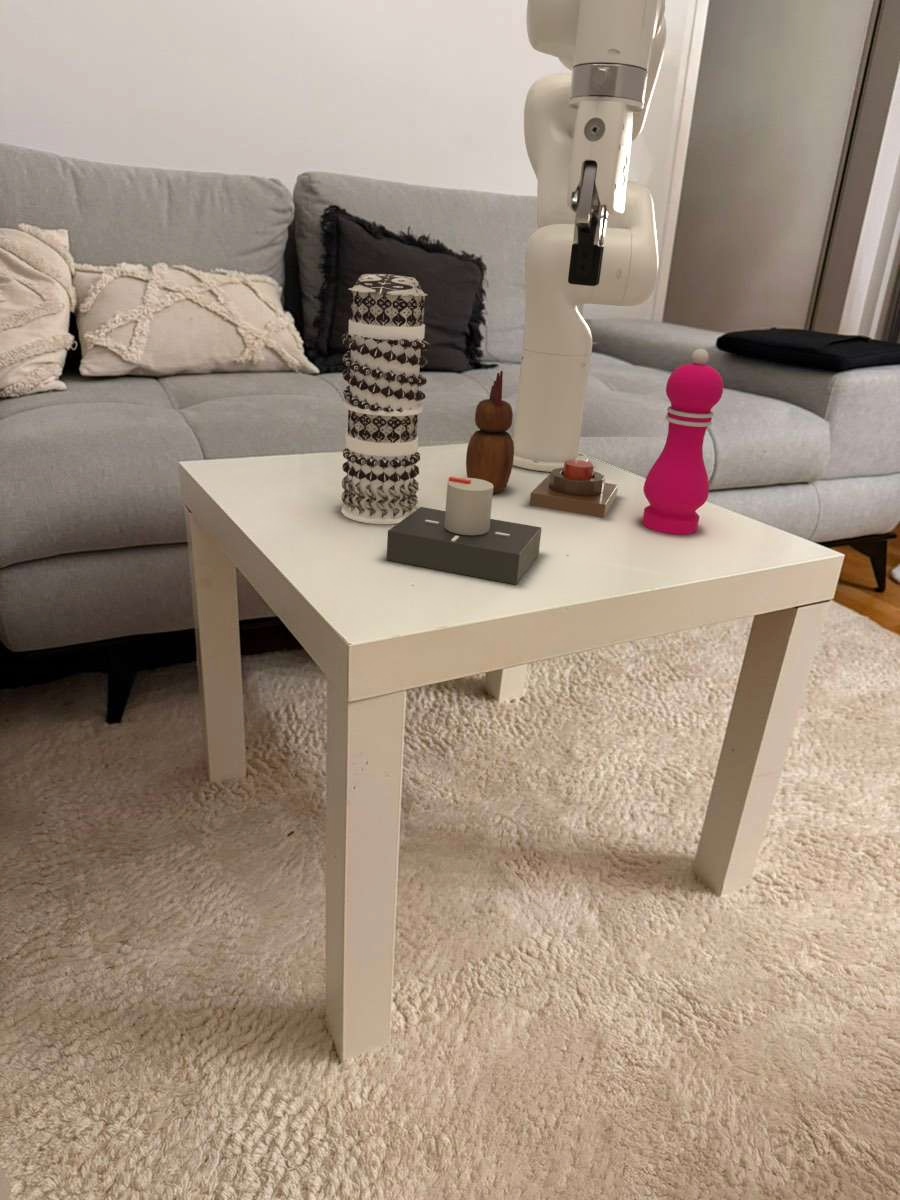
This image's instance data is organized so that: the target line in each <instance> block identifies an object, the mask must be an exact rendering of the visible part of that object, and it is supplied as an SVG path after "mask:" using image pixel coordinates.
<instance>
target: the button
mask: <svg viewBox="0 0 900 1200" xmlns="http://www.w3.org/2000/svg"><path fill="white" fill-rule="evenodd" d="M593 471H595V464H594V463H593V462H591V461H588V462H587V461H582V460H567V461H565V462H564V470H563V475H564V476H567V477H570V478H576V479H591V478H592V477H593Z"/></svg>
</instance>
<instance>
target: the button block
mask: <svg viewBox="0 0 900 1200" xmlns="http://www.w3.org/2000/svg"><path fill="white" fill-rule="evenodd" d="M563 470H564V467H563V468H557V469H553V470H552V471H551V472H549V473H550V474H548V475H547V476H546V477H545V478H544V479H543V480H542V481H541V482H540V483H539V484H538V485H537V486H536V487H535V488H534V489H533V490H532V491H531V492H530V498H529V499H530V500H529V506H530V507H534V508H542V509H548V510H553V511H559V512H566V513H572V514H579V515H584V516H589V517H596V518H602V519H604V518H605V516H607V513H608V512H609V510H610V509H611V506H612V505H613V504H614V502H615V500H616V498H617V496H618V488H619V485H618V484H614V483H608V482H606V476H605V475H604V474H602V473H601V472H598V471H595V470H593V477H592V478H591V479H576V478H570V477H567V476H564V475H563Z"/></svg>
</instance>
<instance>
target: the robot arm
mask: <svg viewBox="0 0 900 1200" xmlns="http://www.w3.org/2000/svg"><path fill="white" fill-rule="evenodd" d="M665 10H666V0H527V4H526V17H525V18H526V22H525V23H526V32H527V38H528V41H529V44H530V46H531V48H532V49H533V50H535V51H537V52H539V53H543V54H544V55H545V54H546V55H549V56H552V57H555V58H557V59H558V60H559V62H560V63H561V64H562V65H563V66H564V67H565V68H566V69H568V71H572V72H557V73H551V74H546V75H544V76H542V77H540V78H537V80H535V81H534V82H533V83H532V84H531V85H530V87H529V88H528V91H527V94H526V97H525V102H524V108H523V134H524V143H525V149H526V153H527V156H528V159H529V163H530V165H531V167H532V170H533V172H534V174H535V177H536V180H537V189H536V191H537V193H536V223H537V229H536V230H535V231H534V232H533V233H532V235H530V237H529V239H528V241H527V244H526V247H525V254H524V280H525V281H524V283H525V284H524V285H525V311H524V312H525V313H524V326H523V327H524V328H523V340H522V348H521V349H522V350H521V358H520V370H519V378H518V388H517V398H516V408H515V415H514V425H513V426H514V427H513V436H512V440H513V444H514V459H513V466H515V467H517V468H521V469H526V470H532V471H538V472H546V473H547V472H549V473H550V472H551V471H552V470H553V469H557V468H563V467H564V462H565V461H567V460H582V461H587V462H589V458H588V456H587V455H586V454H584V453H582V452H580V451H579V449H580V443H581V434H582V427H583V418H584V411H585V405H586V404H585V403H586V398H587V397H586V396H587V390H588V388H587V387H588V382H589V374H590V366H591V358H592V352H593V335H592V331H591V328H590V326H589V325H588V323H587V322H586V320H585V318H584V317H583V315H581V313H580V311H579V309H578V306H579V305H583V304H584V305H588V304H590V305H601V306H602V305H603V306H616V307H634V306H640V305H641V304H643V303H645V302H646V301H647V300H648V299H649V298H650V297H651V295H652V293H653V292H654V290H655V287H656V284H657V280H658V275H659V247H658V236H657V226H656V216H655V206H654V200H653V196H652V193H651V192H650V190H649V189H648V187H646V186H645V185H644V184H642V183H640V182H637V181H632V180H628V178H629V167H630V160H631V151H632V150H631V149H632V142H634V141H635V140H637V138H638V137H639V136H640V134H641V132H642V131H643V129H644V126H645V123H646V120H647V117H648V113H649V109H650V105H651V101H652V99H653V94H654V91H655V87H656V84H657V81H658V78H659V74H660V71H661V67H662V63H663V59H664V56H665V51H666V50H665V48H666V43H667V21H666V17H665Z"/></svg>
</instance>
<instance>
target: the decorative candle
mask: <svg viewBox="0 0 900 1200" xmlns="http://www.w3.org/2000/svg"><path fill="white" fill-rule="evenodd" d="M348 290H349V291H351V293H350V295H351V296H350V297H351V298H350V299H351V300H350V319H349V320H348V331H346V332H345V333H344V334H343V335H342V336H341V340H342V341H341V343H342V344H343V345H345V346H346V347H347V348H348V349H349V350H348V351H346V352H345V353H344V355H342V358H341V359H342V362H343V364H344V366H345V367H346V368H345V369H343V371H342V379H343V380H344V381H345V382H347V384H348V385H347V386H346V387H345V389H344V390H343V392H342V394H343V398H344V400H345V401H344V402H343V407H344V408H346V410H347V431H346V433H345V448H344V449H343V450H342V457H343V458H344V459H345V460H347V461H345V462H344V463H342V471H343V472H344V473H346V475H344V476H343V478H342V479H341V487H342V489H343V491H342V493H341V501H342V503H343V505H342V507H341V510H340V511H341V513H342V515H343V516H344V517H345V518H348V519H351V520H353V521H355V522H360V523H364V524H372V525H393V524H398V523H399V522H401V521H402V520H403V519H405V518H406V517H408V516H409V515H410V514H412V513H413V512H414V511H416V510H417V509H416V506H417V505H418V503H419V501H418V496H417V492H418V491H419V489H420V487H419V482H418V480H416V477H417V476H418V475H419V474H420V468H419V466H418V465H416V464H417V463H419V462H420V460H421V454H420V452H419V451H418V449H419V436H418V423H419V419H418V418H419V414H421V413H423V408H424V406H423V405H422V404H421V403H420V402H421V401H423V400H425V399H426V393H424V392H423V391H422V390H421V389H419V388H422V387H423V386H425V385H426V384H427V382H428V380H427V379H426V377H424V376H423V375H422V373H420V370H421V369H423V368H424V367H425V366H428V365H429V364H430V360H429V359H428V358H427V357H426V356H425V355H423V353H425V352H427V351H429V350H430V349H431V344H430V343H429V342H427V340H426V339H425V335H426V333H425V332H426V324H425V323H424V315H425V300H426V297H427V296H428V294H427V293H425V291H423V290H422V288H421V286H420V283H419V281H418V280H417V279H416V278H415V277H413V276H407V275H398V274H386V273H363V274H361V275H360V276H359V277H358V278H357V281H356V282H355V284H354V285H353V287H349V288H348ZM420 368H421V369H420Z"/></svg>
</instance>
